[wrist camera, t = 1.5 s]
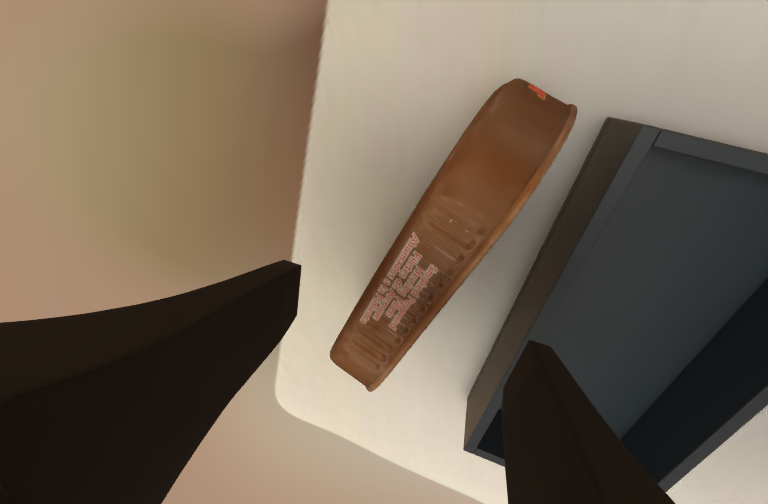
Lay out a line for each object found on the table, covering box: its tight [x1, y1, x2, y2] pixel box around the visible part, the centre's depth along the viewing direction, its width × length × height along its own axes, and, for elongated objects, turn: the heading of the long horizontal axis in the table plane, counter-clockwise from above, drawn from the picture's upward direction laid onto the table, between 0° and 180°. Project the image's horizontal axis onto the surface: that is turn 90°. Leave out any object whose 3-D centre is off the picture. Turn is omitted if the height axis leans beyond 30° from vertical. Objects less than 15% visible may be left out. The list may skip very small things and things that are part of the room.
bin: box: [464, 117, 768, 492], centre depth 17 cm, size 10×19×4 cm, turn 167°
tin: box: [330, 79, 577, 392], centre depth 15 cm, size 15×3×8 cm, turn 152°
